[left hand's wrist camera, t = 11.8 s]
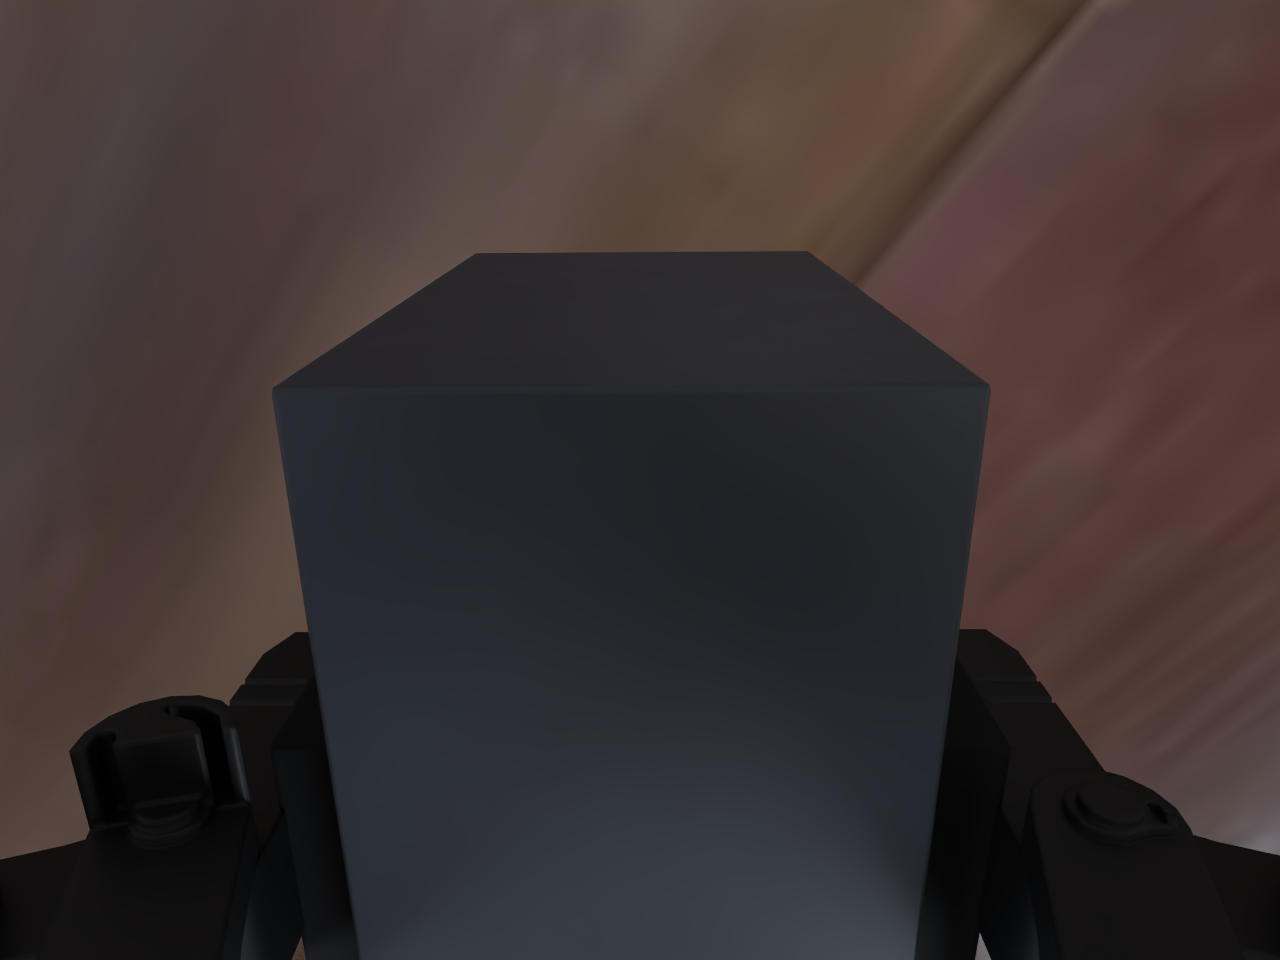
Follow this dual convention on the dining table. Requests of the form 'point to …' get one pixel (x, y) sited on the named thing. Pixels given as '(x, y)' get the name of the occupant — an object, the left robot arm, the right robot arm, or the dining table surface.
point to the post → (634, 607)
